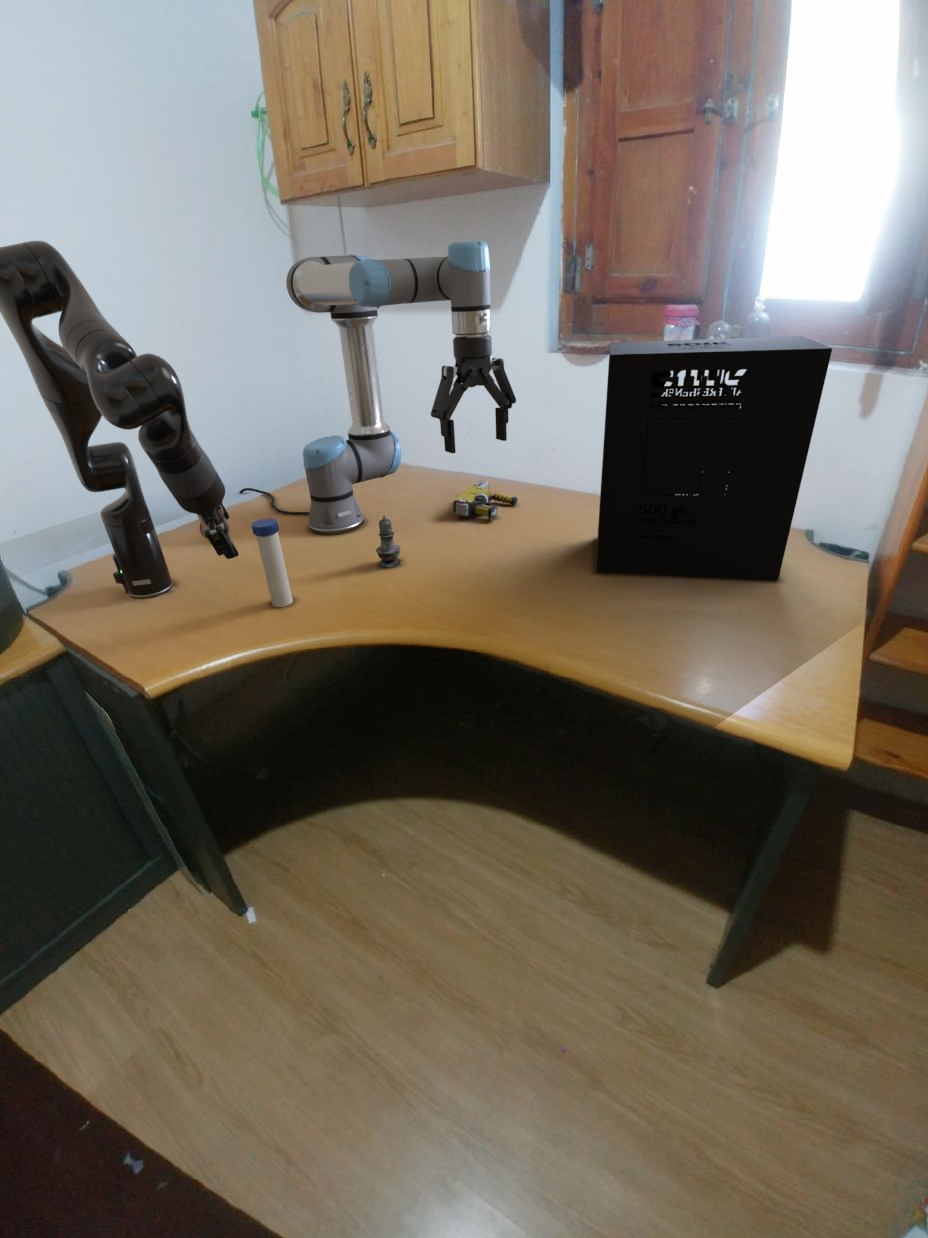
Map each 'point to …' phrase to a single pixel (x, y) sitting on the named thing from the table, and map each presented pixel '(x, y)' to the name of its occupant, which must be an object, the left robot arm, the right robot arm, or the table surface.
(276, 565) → the jar
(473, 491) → the toy gun
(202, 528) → the eyeball
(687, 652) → the table surface
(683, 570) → the cardboard box
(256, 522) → the lid
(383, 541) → the grey upright turned piece
